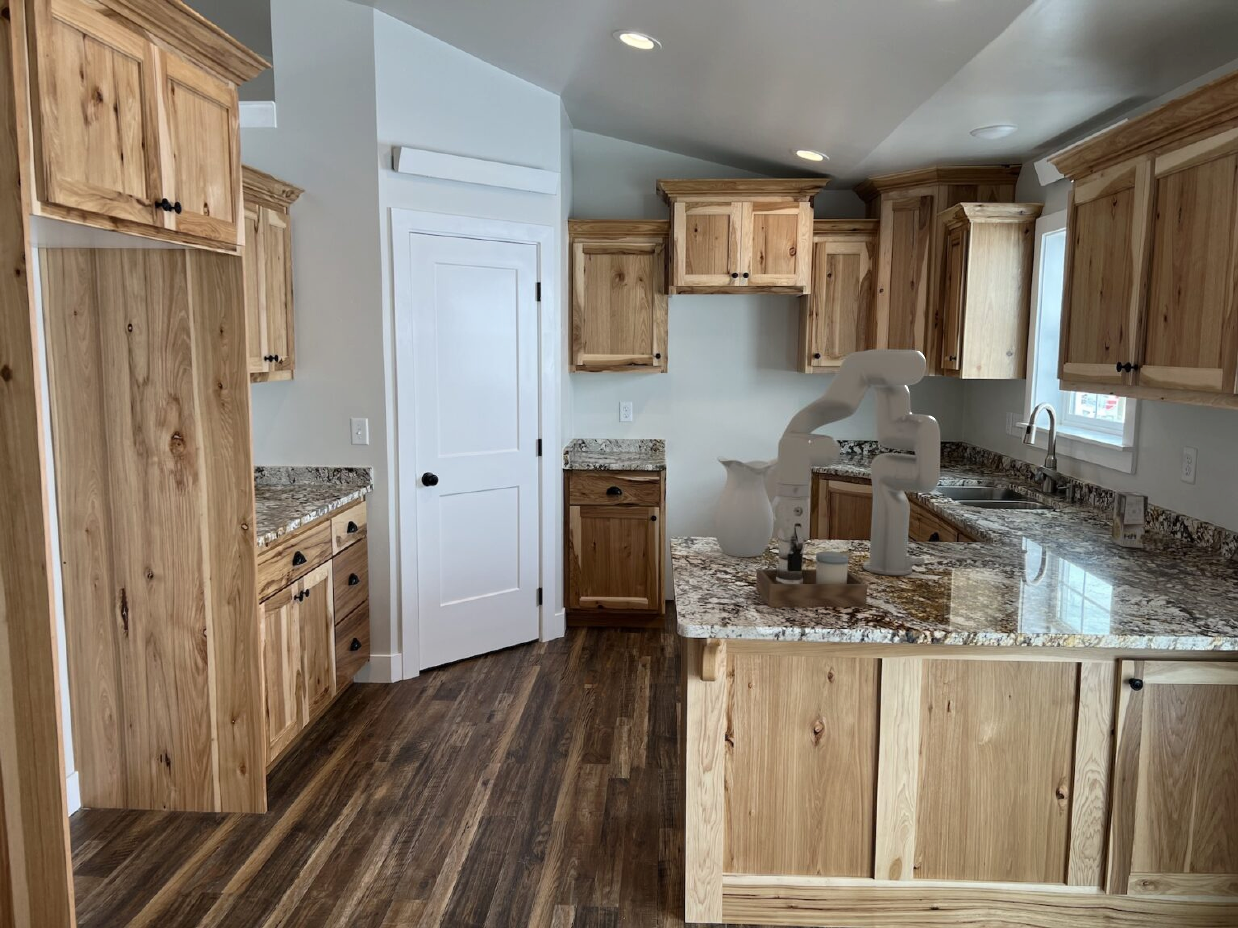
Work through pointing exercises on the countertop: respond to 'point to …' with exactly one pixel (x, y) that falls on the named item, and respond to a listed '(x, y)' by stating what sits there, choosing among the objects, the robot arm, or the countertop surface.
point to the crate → (810, 591)
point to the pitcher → (745, 509)
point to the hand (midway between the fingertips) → (790, 566)
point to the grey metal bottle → (782, 572)
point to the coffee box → (1129, 519)
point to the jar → (831, 567)
